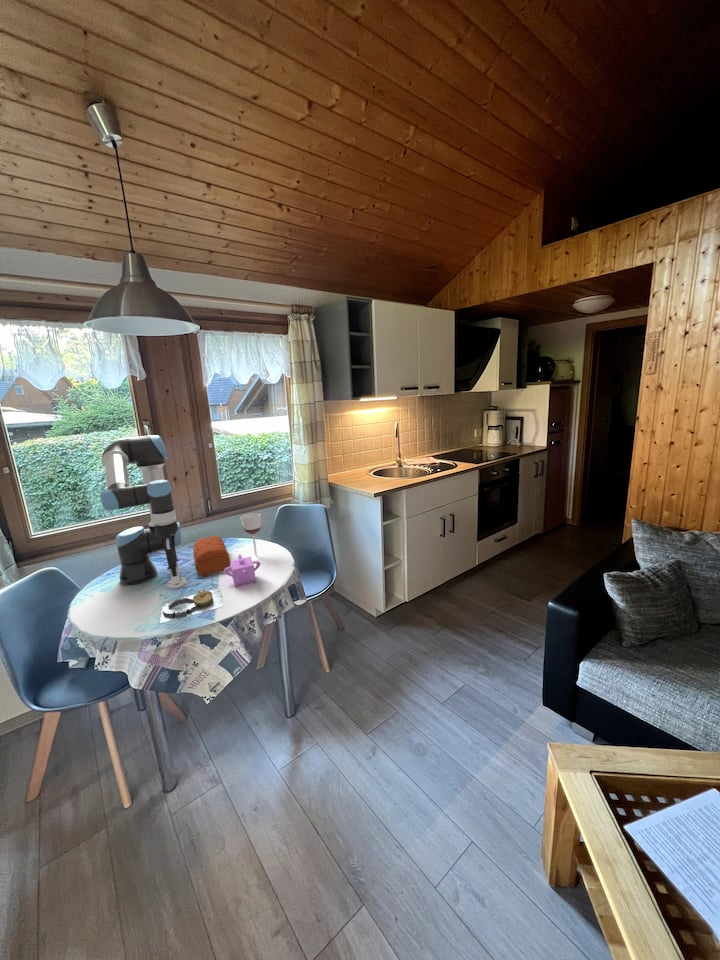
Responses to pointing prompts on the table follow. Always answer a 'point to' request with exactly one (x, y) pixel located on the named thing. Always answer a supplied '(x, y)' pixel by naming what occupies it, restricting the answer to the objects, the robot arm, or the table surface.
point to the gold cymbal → (203, 598)
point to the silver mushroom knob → (179, 585)
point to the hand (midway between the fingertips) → (176, 581)
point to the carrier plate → (188, 606)
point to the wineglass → (252, 530)
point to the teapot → (243, 570)
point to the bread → (210, 556)
